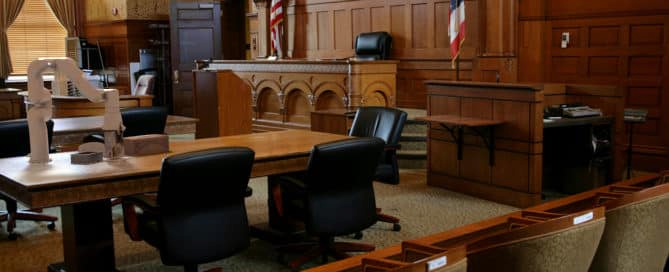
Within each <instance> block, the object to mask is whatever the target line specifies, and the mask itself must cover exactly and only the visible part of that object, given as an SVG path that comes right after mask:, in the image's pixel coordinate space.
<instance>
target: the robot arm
mask: <svg viewBox="0 0 669 272" xmlns="http://www.w3.org/2000/svg"><path fill="white" fill-rule="evenodd" d="M26 69H27V70H26V76H27V77H26V78H27V98H28V101H29V102H30V103H31V104H32V105H35V106H34V107H32V108H29V109H28V112H27V114H26V119H27V124H28V131H29V144H30V153H28V154H27V155H26V158H29V159H28V162H29V163H46V162H51V161H53V158H52V157H50V153H49V152H50V151H49V149H50V148H49V137H48V128H47V124H46V122H49V120H51V119H52V117H53V104H52V103H53V102H52V100H53V99H52V98H53V97H52V94H51V91H50V90H49V89H48V88H46V87H45V84H44V77H43V74H45V73H46V74H47V73H61V75H63V76H64V77H65V78H67V79H68V80H69V81H70V82H71V83H73V85H74V86H75V87H76V89H77V90H78V91H79V92H80V93H81V95H83V96H84V97H85V98H86V99H88V100H89V101H90V102H92V103H101V102H105V108H104V116H103V125H102V126H101V129H102V131H103V132H104V131H108V130H116V131H117V133H118V135H117V139H118V142H120V141H122V134H123V135H124V132H125V130H127V129H126V126H124V124H123V119H122V114H121V112H120V97H119V96H120V94H119V93H120V92H119V89H116V88H109V89H106V88H105V89H104V88H96V87H94V86H93V85H92V83H90V82H89V81H88V79H87V74H86V73H85V72H84V71H82V69H80V68H79V67H78V66H77V62H76V61H75V60H74V58H72V57H39V58H37V59H33V60H32V61H31V62H30V63H29V64H28V66H27V68H26Z"/></svg>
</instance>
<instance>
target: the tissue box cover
mask: <svg viewBox="0 0 669 272" xmlns="http://www.w3.org/2000/svg"><path fill="white" fill-rule="evenodd" d="M169 137H170V135H167V134H158V133H157V134H156V133H153V134H145V135H136V136H128V137H127V136H126V137H123V139H124V154H125V156H126V155H127V156H141V155H147V154H148V155H149V154H155V153H157V154H158V153H163V152H169V151H170V138H169Z"/></svg>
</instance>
